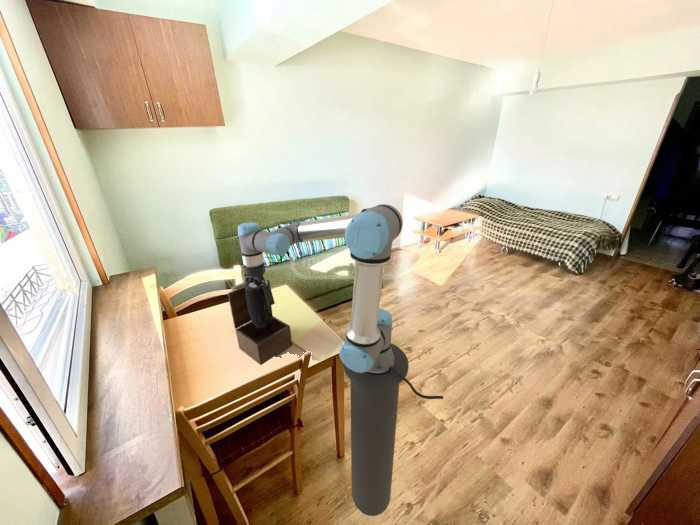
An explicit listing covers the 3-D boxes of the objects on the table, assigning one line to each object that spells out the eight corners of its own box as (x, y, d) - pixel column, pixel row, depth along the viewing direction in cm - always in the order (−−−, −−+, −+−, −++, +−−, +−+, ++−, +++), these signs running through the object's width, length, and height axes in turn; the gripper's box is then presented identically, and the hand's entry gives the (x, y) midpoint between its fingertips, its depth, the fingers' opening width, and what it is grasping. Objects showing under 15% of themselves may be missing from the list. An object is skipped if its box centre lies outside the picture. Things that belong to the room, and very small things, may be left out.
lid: (263, 279, 120) (253, 274, 125) (228, 293, 109) (218, 287, 114) (268, 312, 127) (258, 306, 132) (235, 328, 116) (226, 321, 120)
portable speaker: (257, 314, 120) (250, 275, 111) (277, 317, 118) (271, 278, 109) (246, 327, 113) (237, 286, 104) (267, 330, 111) (260, 289, 102)
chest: (292, 344, 122) (290, 325, 118) (260, 365, 111) (257, 345, 107) (270, 330, 131) (267, 312, 127) (239, 348, 120) (235, 329, 116)
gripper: (280, 267, 101) (286, 319, 110) (246, 254, 114) (254, 301, 123) (262, 274, 96) (270, 328, 104) (229, 259, 109) (239, 308, 117)
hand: (261, 313), depth 114 cm, fingers closed on portable speaker, 9 cm apart
